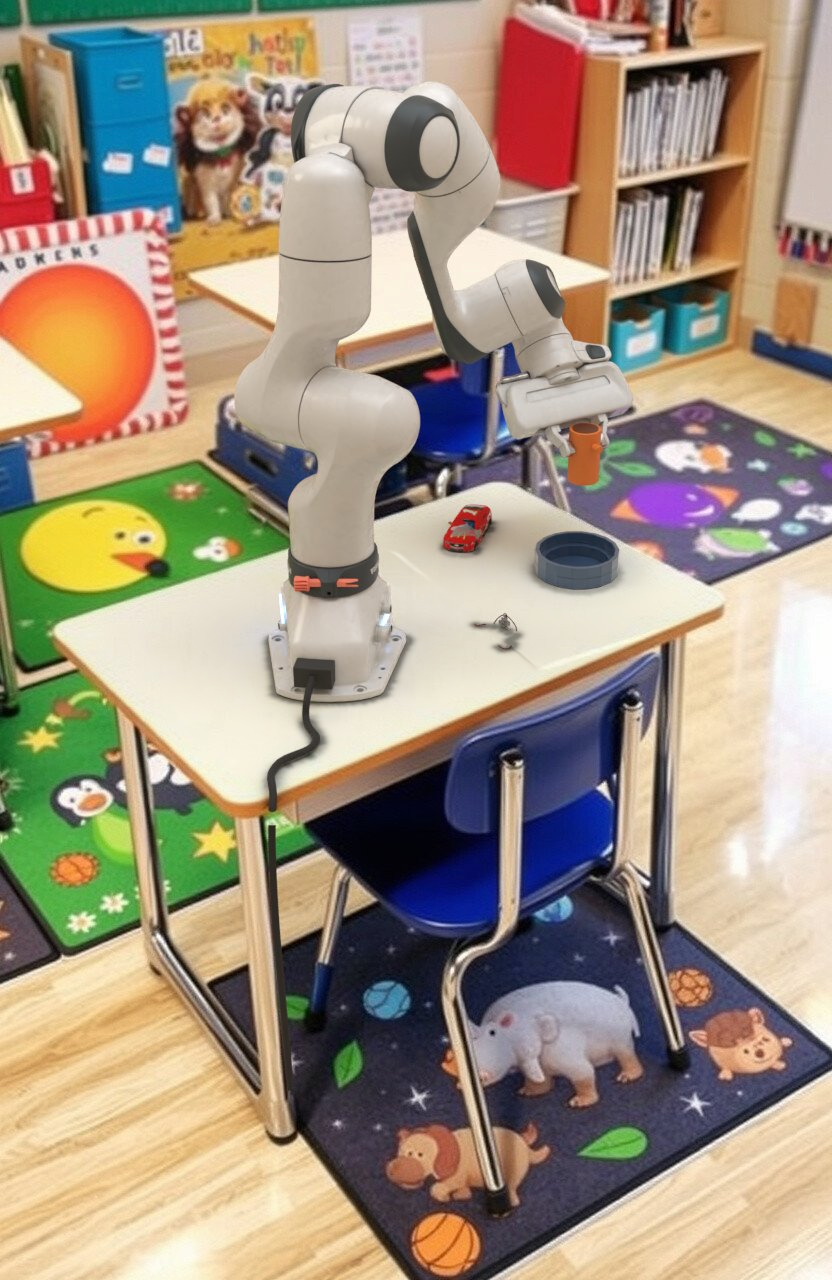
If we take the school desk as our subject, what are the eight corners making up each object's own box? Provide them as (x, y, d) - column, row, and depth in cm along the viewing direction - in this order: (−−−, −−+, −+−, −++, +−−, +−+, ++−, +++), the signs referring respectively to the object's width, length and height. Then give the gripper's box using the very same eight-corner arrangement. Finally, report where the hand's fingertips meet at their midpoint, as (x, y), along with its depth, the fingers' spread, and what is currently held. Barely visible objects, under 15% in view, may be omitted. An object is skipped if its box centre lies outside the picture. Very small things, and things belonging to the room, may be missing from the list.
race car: (472, 558, 212) (472, 535, 210) (438, 554, 213) (438, 530, 211) (497, 522, 222) (497, 499, 220) (464, 518, 224) (464, 495, 222)
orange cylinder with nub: (561, 477, 206) (563, 426, 202) (586, 470, 208) (589, 419, 203) (585, 492, 201) (587, 440, 197) (611, 485, 203) (614, 433, 199)
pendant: (528, 641, 190) (529, 624, 189) (503, 651, 188) (503, 634, 187) (492, 618, 196) (492, 601, 194) (467, 627, 194) (467, 610, 192)
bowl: (622, 592, 202) (623, 568, 200) (536, 593, 202) (537, 568, 200) (614, 554, 212) (615, 530, 210) (532, 554, 213) (533, 531, 210)
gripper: (499, 369, 197) (535, 457, 195) (617, 344, 206) (653, 427, 203) (483, 390, 203) (517, 475, 201) (598, 364, 211) (633, 446, 209)
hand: (587, 451), depth 202 cm, fingers closed on orange cylinder with nub, 4 cm apart
